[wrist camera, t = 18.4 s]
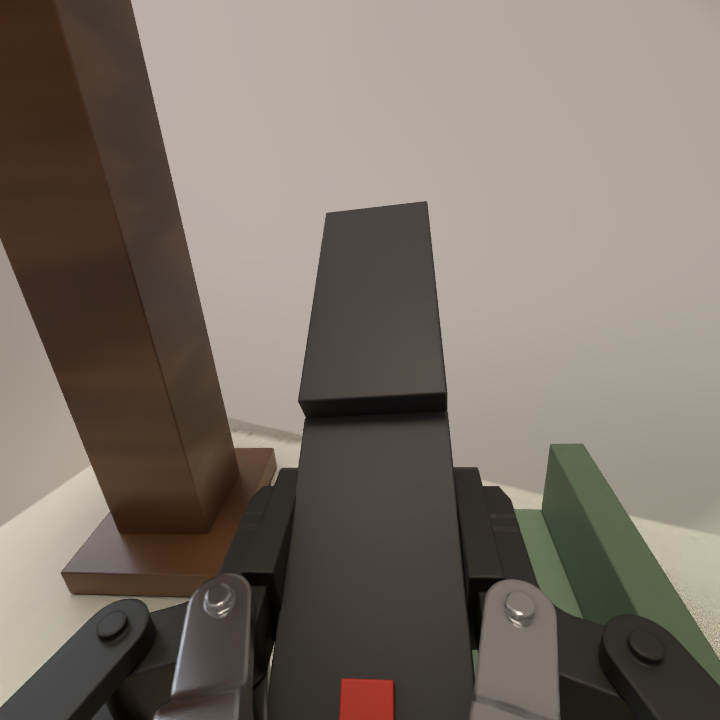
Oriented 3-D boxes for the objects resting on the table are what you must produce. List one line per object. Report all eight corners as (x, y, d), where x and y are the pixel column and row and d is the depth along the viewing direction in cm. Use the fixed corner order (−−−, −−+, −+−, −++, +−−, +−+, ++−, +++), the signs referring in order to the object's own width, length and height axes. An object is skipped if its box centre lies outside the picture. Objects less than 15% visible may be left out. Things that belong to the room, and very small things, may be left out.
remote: (485, 822, 8) (495, 853, 6) (277, 806, 9) (232, 829, 7) (429, 250, 19) (427, 200, 17) (337, 260, 19) (325, 212, 18)
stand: (224, 598, 21) (-138, -638, 8) (70, 594, 22) (-496, -528, 9) (277, 465, 30) (152, -212, 17) (166, 465, 31) (-37, -179, 18)
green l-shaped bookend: (854, 1199, 8) (1031, 1148, 6) (268, 1109, 10) (209, 1036, 7) (567, 538, 23) (583, 442, 20) (347, 535, 24) (337, 445, 22)
